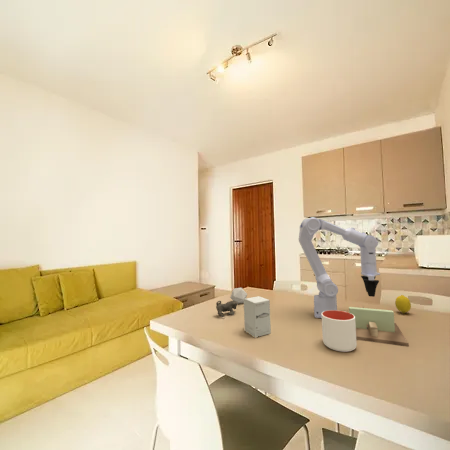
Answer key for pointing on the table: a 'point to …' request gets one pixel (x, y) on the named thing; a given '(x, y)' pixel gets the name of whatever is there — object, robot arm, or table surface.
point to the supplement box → (257, 316)
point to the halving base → (381, 335)
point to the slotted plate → (373, 318)
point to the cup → (339, 330)
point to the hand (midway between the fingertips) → (370, 294)
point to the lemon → (403, 304)
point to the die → (238, 295)
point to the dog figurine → (226, 307)
